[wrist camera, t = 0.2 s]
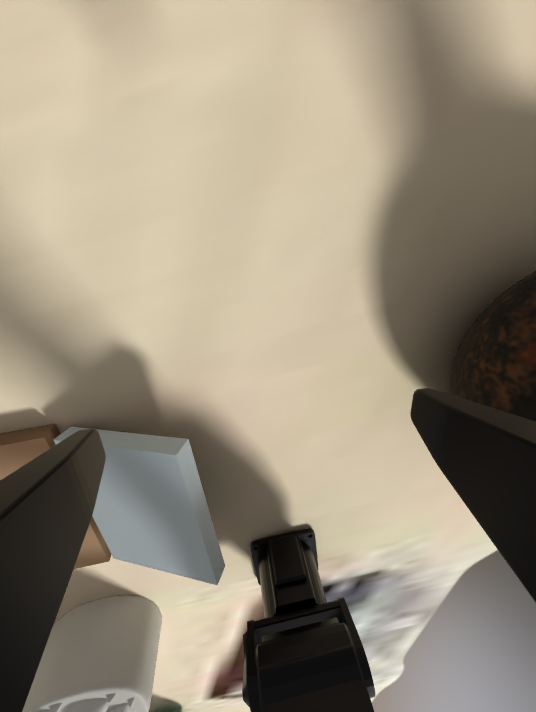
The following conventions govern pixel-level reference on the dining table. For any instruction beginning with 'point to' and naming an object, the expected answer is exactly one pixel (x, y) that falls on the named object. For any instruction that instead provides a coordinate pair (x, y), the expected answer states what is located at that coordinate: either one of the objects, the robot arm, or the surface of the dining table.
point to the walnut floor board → (22, 447)
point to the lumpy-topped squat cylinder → (99, 658)
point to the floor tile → (155, 505)
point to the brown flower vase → (501, 354)
